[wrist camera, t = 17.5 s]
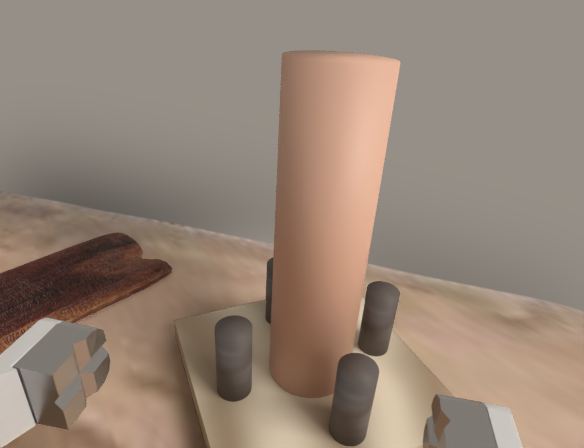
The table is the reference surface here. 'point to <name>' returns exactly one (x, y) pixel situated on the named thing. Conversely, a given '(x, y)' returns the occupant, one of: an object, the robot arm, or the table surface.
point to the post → (325, 208)
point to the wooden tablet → (74, 283)
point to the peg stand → (298, 410)
